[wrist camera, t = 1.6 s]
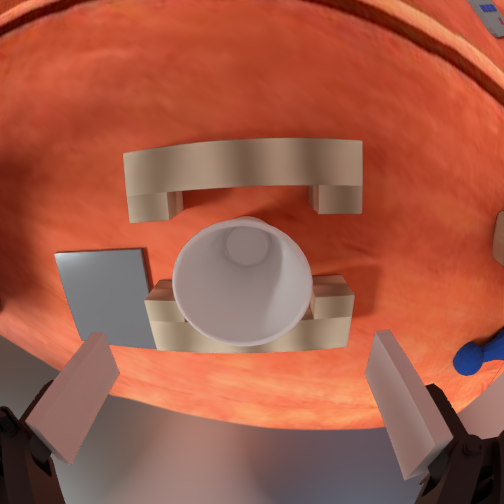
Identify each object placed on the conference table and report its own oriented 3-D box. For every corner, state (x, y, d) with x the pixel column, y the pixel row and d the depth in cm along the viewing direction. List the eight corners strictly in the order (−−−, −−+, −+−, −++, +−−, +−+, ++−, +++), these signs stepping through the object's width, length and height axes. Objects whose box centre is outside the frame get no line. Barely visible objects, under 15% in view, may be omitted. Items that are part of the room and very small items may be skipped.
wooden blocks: (168, 326, 33) (157, 350, 28) (144, 153, 26) (123, 153, 21) (336, 322, 32) (346, 346, 27) (344, 143, 25) (362, 140, 21)
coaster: (83, 338, 34) (81, 340, 34) (56, 252, 30) (54, 253, 29) (163, 347, 34) (162, 349, 33) (142, 248, 30) (140, 249, 29)
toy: (505, 317, 34) (455, 345, 34) (523, 333, 28) (474, 365, 28) (496, 344, 36) (447, 372, 36) (512, 360, 30) (463, 393, 30)
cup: (309, 259, 30) (334, 311, 19) (232, 300, 31) (221, 363, 21) (264, 179, 27) (268, 190, 17) (183, 228, 29) (145, 265, 18)
